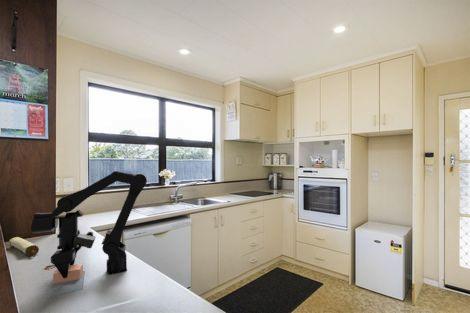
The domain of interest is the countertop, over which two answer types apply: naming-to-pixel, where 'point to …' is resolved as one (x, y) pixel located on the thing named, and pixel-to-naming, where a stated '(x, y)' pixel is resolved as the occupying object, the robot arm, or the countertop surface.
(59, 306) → the countertop surface
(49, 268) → the key
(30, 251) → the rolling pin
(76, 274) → the card box
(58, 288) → the mat
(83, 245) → the robot arm
